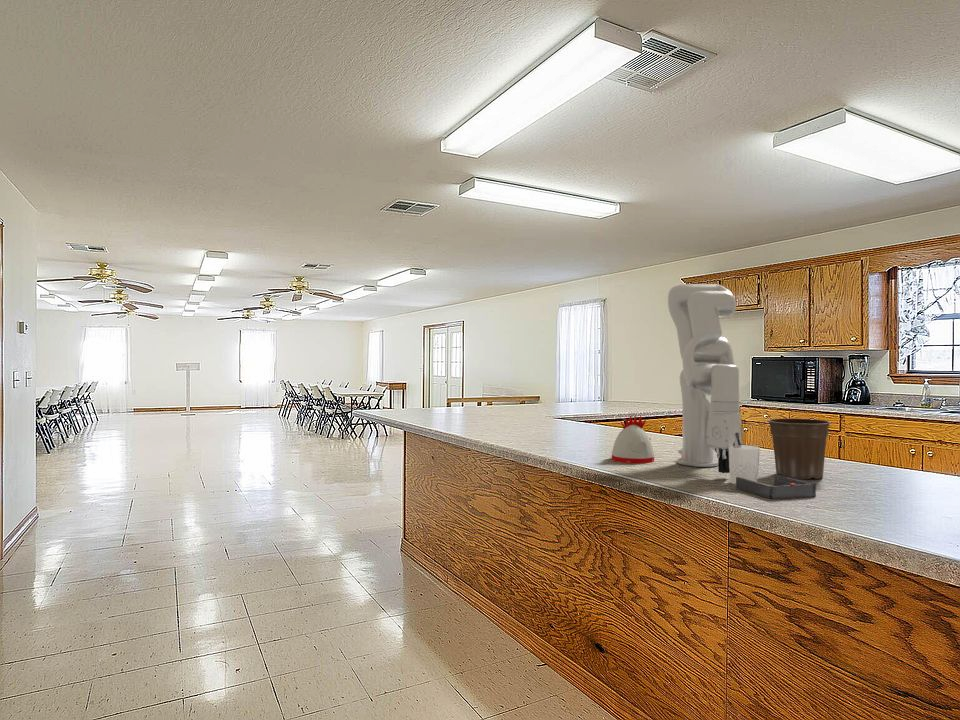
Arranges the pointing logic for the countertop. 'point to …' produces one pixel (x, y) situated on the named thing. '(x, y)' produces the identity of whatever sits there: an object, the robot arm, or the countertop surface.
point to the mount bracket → (778, 488)
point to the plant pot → (799, 447)
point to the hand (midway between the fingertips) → (724, 472)
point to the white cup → (743, 462)
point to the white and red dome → (633, 444)
